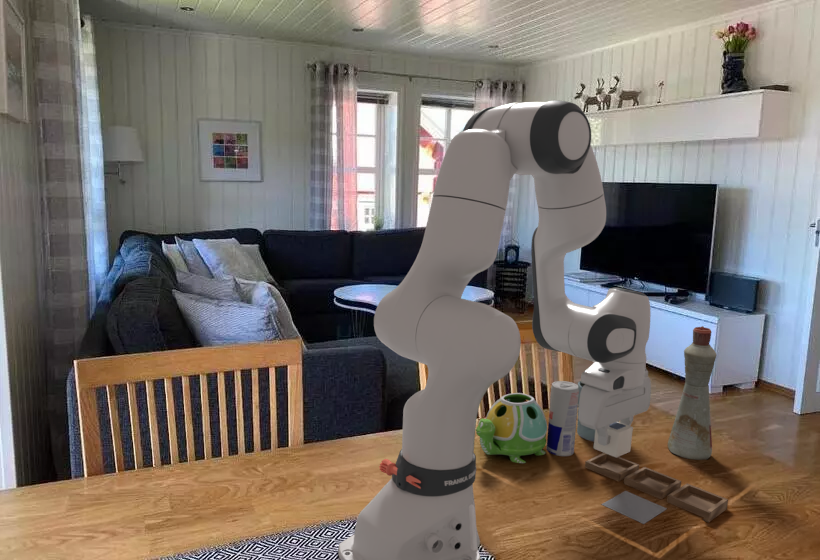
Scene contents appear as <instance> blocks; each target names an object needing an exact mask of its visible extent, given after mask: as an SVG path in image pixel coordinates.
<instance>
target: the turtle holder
mask: <svg viewBox="0 0 820 560" xmlns="http://www.w3.org/2000/svg"><path fill="white" fill-rule="evenodd" d="M477 424H478V426H476V429H475V434H476V435H477V437H479V443H480V448H481V450H482V451H483V452H484V453H485V454H486V455H488V456H492V455H503V456H508V457H509V460H510V462H512V463H515V464H526V463H527V462H526V460H524V459H522V458H521V456H529V455H533V454H534V455H535V456H543V455H545V454H546V453H547V452H546V450H544V448H545V447H546V446H547V434H548V421H547V419H546V415H545V413H544V411H543V408H542V407H541V406H540V404H539V403H538V402H537V401H536V400H535V398H534V397H533V396H532V395H530V394H526V393H522V392H514V393H513V392H512V393H508V394H504V395H502V396H500V398H499V399H497V400H496V401H495V402H494V403H493V404H492V405H491V407H490V408H489V410H488V412H487V414H486V416H485V418H480V419H479V421H478V423H477Z"/></svg>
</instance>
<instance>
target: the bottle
mask: <svg viewBox="0 0 820 560" xmlns="http://www.w3.org/2000/svg"><path fill="white" fill-rule="evenodd" d="M711 338H712V330H711V328H708V327H704V326H703V325H702V326H697V327H694V328H693V329H692V342H691V344H689V345H688V346H686V347H685V349H684V350H683V357H684V373H685V375H684V377H685V378H684V379H685V382H684V385H683V389H682V394H681V398H680V401H679V405H678V408H677V410H676V414H675V419H674V422H673V424H672V428H671V431H670V434H669V436H668V437H669V438H668V440H667V447H668V448H667V449H668V450H669V451H670V452H671V453H672V454H674V455H676V456H678V457H680V458H684V459H688V460H689V459H690V460H695V461H697V460H698V461H701V460H708V459H709V458H710V457H711V456H712V453H713V439H712V438H713V437H712V423H711V408H710V407H711V406H710V404H711V403H710V385H709V384H710V381H711V376H712V374H713V370H714V367H715V362H716V359H717V353H716V351H715V349H714V348H713V347H712V346H711V344H710V342H711Z"/></svg>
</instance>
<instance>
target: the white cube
mask: <svg viewBox="0 0 820 560" xmlns="http://www.w3.org/2000/svg"><path fill="white" fill-rule="evenodd" d="M633 430H634V427H633V426H631V425H630V426H628V425H626V424H623V423H620V421H619V422H615V423H612V424H610V425H609V429H607V431H608V435H609V436H611V438H610V443H609V444H608V445H605V446H603V445H601V444H599V443H598V433H597V430H595V439H594V441H593V449H594V450H597V451H599V452H602V453H606V454H609V455H611V456H614V457H616V458H617V457H621V456H623V455H625V454H627V453H630V452H631V449H632V448H631V447H632V440H633V439H632V437H633Z"/></svg>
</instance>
